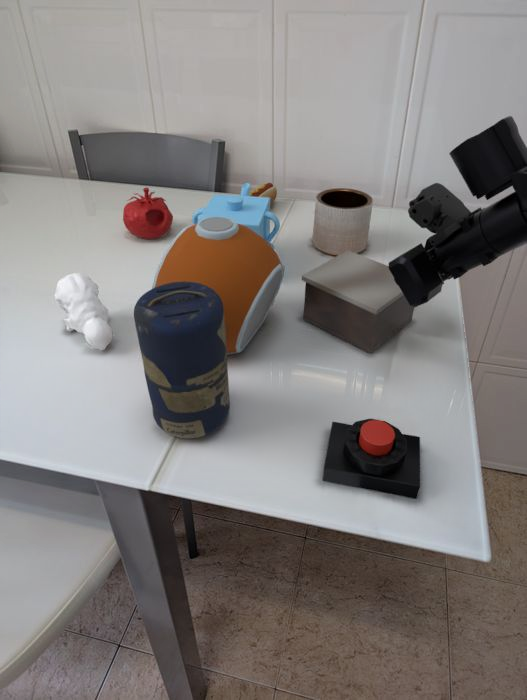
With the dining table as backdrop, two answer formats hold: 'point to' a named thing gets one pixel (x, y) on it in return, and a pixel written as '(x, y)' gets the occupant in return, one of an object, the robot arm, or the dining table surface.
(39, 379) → the dining table surface
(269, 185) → the food
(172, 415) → the canister
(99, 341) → the white animal figurine
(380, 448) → the button
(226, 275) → the alarm clock
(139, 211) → the red tomato
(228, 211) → the teapot
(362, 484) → the switch block
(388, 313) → the wooden box
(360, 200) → the planter
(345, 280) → the grey square plate
